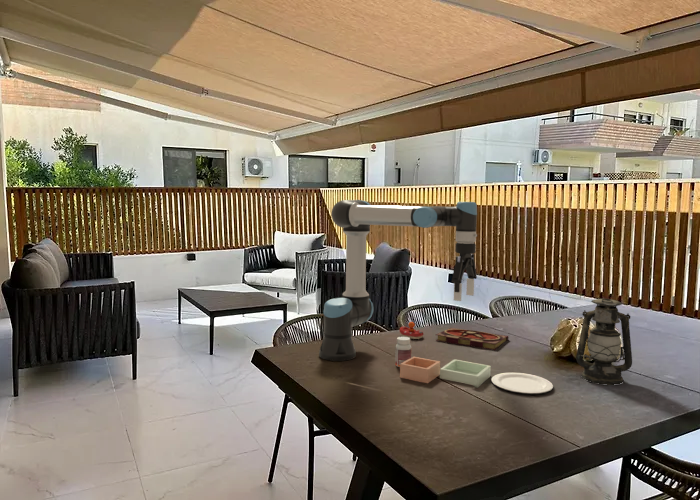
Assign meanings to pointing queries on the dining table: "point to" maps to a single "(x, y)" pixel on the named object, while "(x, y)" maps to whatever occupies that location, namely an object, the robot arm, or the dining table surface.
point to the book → (472, 338)
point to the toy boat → (410, 332)
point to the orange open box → (420, 369)
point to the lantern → (604, 343)
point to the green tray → (465, 372)
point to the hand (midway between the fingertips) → (463, 297)
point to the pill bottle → (402, 350)
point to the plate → (522, 383)
